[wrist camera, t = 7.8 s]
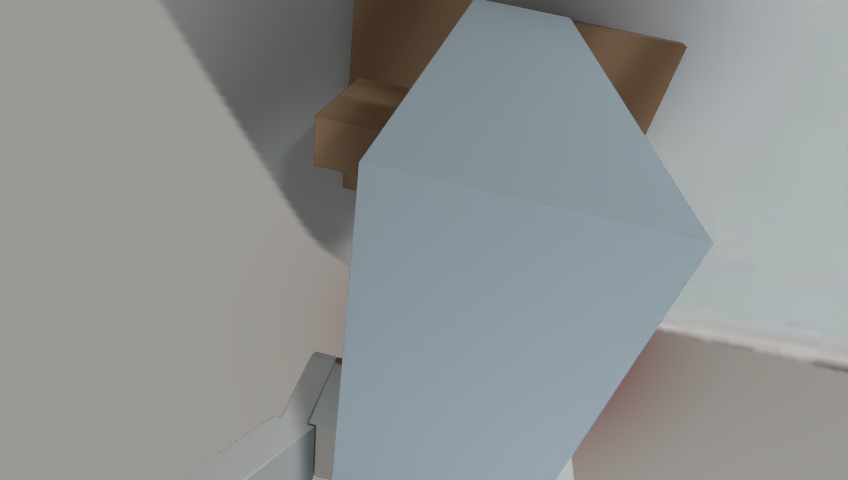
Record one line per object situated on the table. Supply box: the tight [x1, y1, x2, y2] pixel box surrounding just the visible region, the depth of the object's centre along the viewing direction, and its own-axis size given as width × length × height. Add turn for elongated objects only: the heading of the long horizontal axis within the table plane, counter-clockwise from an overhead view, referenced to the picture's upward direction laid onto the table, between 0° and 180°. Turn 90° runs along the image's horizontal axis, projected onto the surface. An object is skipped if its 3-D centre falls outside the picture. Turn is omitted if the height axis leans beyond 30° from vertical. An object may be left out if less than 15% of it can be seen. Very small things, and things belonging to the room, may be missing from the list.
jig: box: [314, 0, 687, 191], centre depth 21 cm, size 15×11×7 cm
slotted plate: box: [332, 0, 713, 480], centre depth 11 cm, size 14×2×10 cm, turn 171°
